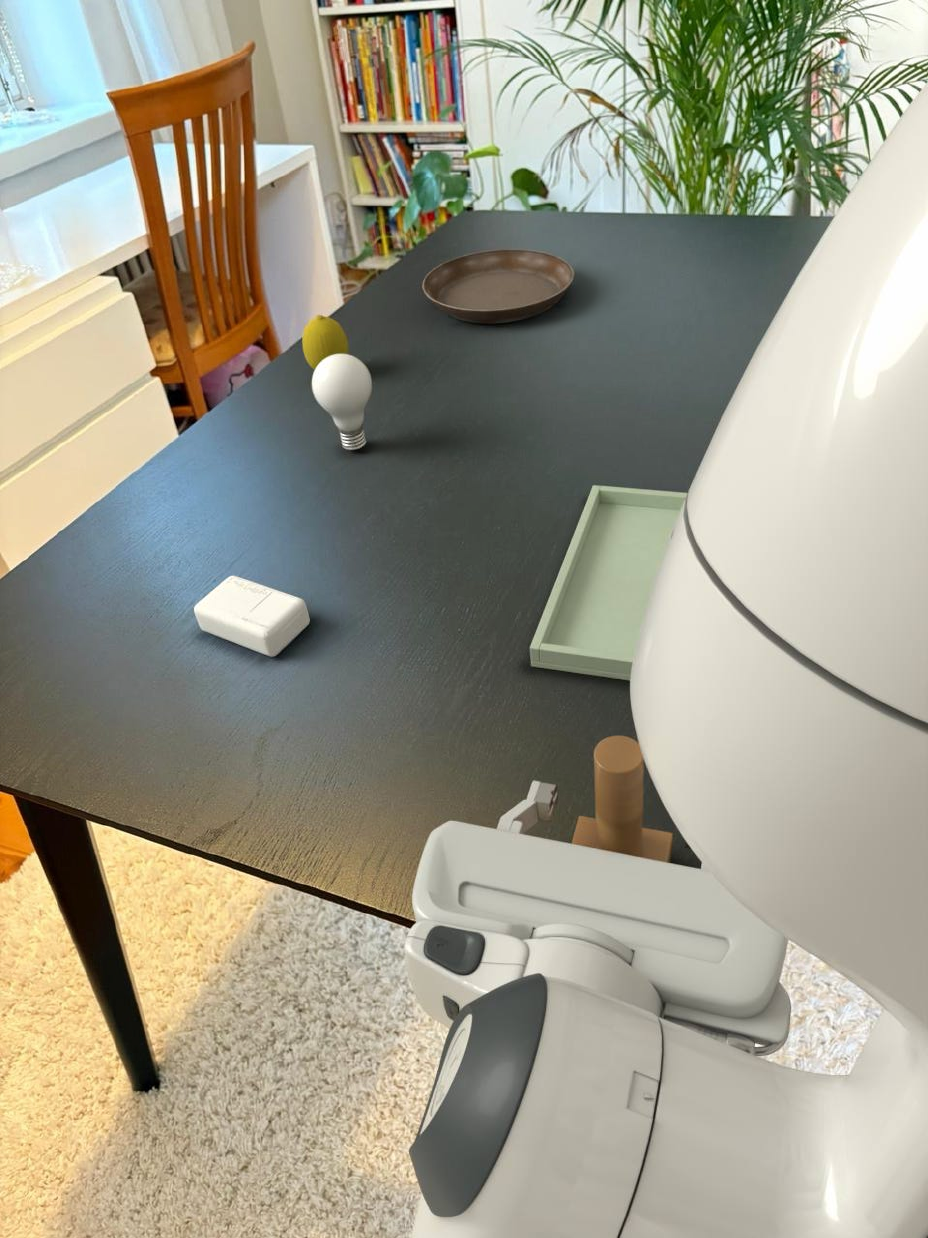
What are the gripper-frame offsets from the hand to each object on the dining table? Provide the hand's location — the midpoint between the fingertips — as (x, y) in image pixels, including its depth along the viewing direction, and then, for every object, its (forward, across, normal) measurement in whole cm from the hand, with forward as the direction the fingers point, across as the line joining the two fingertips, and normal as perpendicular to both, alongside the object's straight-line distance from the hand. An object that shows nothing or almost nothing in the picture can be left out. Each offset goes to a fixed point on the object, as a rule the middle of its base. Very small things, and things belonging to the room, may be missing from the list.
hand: (622, 802), depth 58 cm
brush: (-1, 0, +7) cm, 7 cm away
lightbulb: (+47, +39, +8) cm, 62 cm away
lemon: (+63, +49, +8) cm, 81 cm away
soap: (+18, +36, +8) cm, 41 cm away
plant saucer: (+87, +34, +8) cm, 94 cm away
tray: (+29, +3, +8) cm, 30 cm away
